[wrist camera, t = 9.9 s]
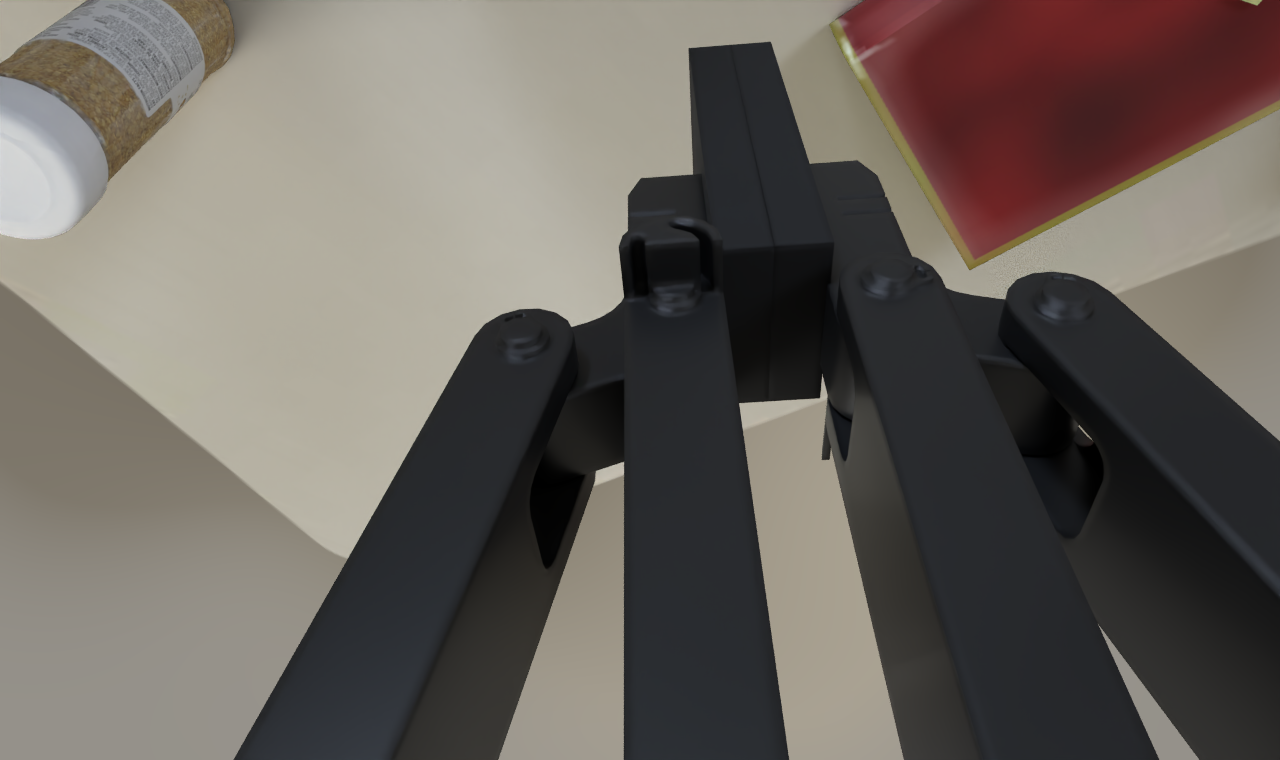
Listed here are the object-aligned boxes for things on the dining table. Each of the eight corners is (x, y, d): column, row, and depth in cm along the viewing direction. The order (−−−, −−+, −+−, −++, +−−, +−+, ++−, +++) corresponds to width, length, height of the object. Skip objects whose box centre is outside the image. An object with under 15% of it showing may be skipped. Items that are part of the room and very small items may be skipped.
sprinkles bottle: (171, 85, 37) (-7, 262, 27) (94, -22, 34) (-137, 131, 24) (262, 51, 36) (114, 221, 26) (191, -62, 33) (-7, 79, 23)
